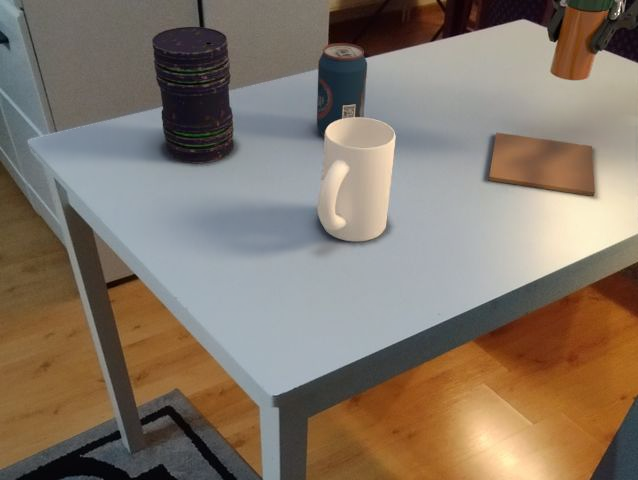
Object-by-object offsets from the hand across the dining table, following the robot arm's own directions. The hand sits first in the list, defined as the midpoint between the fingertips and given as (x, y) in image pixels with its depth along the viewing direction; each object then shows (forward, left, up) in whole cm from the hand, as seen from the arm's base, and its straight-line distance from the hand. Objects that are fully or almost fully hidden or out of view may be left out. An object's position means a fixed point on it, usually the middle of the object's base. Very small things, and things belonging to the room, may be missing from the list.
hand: (571, 44), depth 88 cm
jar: (-1, -2, -4) cm, 5 cm away
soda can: (+30, +2, -16) cm, 34 cm away
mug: (+23, +28, -16) cm, 39 cm away
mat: (0, +3, -16) cm, 16 cm away
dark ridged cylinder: (+48, +13, -16) cm, 52 cm away
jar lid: (-1, -2, +6) cm, 6 cm away
